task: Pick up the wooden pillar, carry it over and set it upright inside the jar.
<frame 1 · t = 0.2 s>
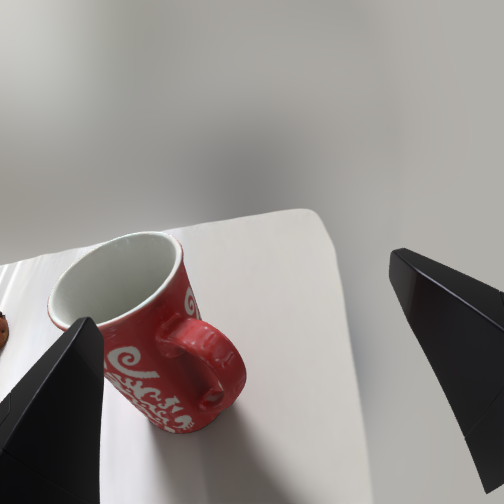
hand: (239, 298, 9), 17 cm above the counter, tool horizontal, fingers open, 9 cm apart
mug: (199, 408, 24), on the counter
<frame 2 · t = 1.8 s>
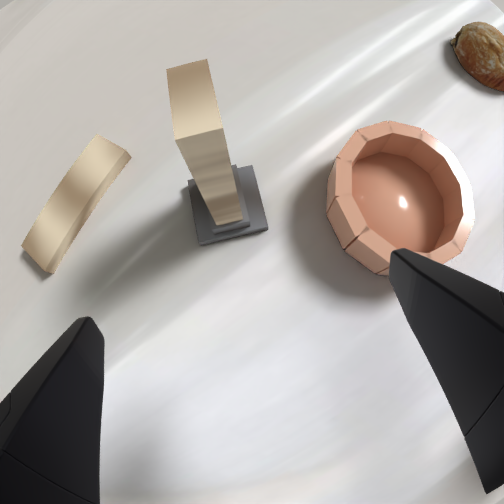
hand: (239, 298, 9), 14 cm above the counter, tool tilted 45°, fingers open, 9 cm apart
bread roll: (482, 65, 27), on the counter
jar: (394, 206, 23), on the counter
wooden pillar: (227, 206, 24), on the counter
light wooden flat block: (78, 205, 25), on the counter
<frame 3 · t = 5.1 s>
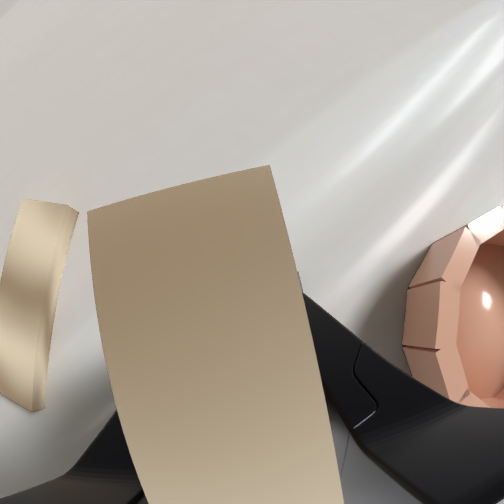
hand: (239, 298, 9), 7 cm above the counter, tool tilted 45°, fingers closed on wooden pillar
jar: (484, 321, 14), on the counter
wooden pillar: (256, 336, 15), on the counter, touching gripper
light wooden flat block: (36, 305, 16), on the counter
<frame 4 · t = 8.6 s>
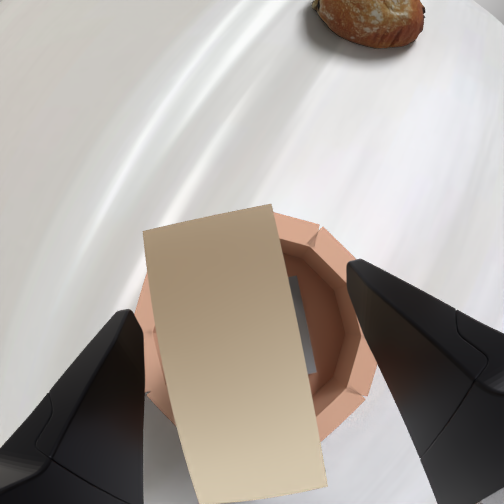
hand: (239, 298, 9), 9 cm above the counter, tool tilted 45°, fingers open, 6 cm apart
bread roll: (367, 19, 22), on the counter
jar: (258, 334, 17), on the counter
wooden pillar: (257, 334, 16), point 1 cm above the counter, touching jar
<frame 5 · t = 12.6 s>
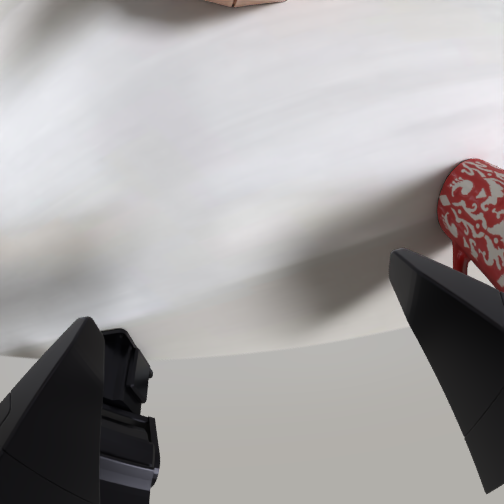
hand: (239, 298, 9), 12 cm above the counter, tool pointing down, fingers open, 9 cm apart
mug: (454, 212, 23), on the counter
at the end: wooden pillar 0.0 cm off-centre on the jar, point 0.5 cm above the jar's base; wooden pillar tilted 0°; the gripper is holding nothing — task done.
